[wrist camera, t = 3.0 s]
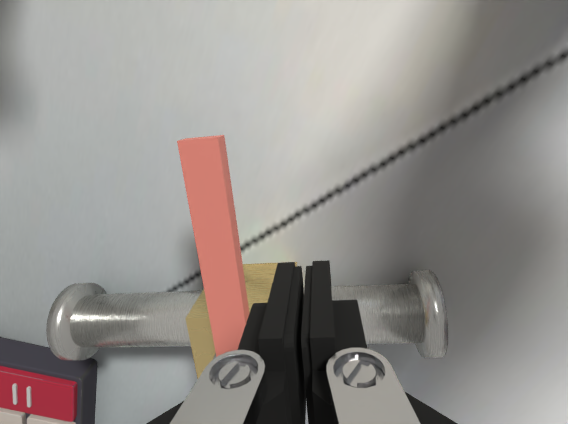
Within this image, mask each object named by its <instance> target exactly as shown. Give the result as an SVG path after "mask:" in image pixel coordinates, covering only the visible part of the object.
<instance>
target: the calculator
mask: <svg viewBox="0 0 568 424" xmlns="http://www.w3.org/2000/svg"><path fill="white" fill-rule="evenodd" d="M96 383H97V361H96V360H94V359H91V358H88V359H85V360H62V359H59V358H58V357H56V356H55V355H54V354H53V352H52V351H51V349H50V348H48V347H43V346H39V345H34V344H30V343H25V342H20V341H15V340H10V339H6V338H1V337H0V424H95V403H96Z"/></svg>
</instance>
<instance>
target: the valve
mask: <svg viewBox="0 0 568 424" xmlns="http://www.w3.org/2000/svg"><path fill="white" fill-rule="evenodd" d="M277 264H278V263H265V264H243V271H244V278H245V285H246V292H247V299H248V306H249V313H250V310H251V307H252V305H253V303H267V302H268V298H269V295H270V291H271V287H272V283H273V279H274V275H275V271H276V268H277ZM295 267H297V262H295ZM303 289H304V290H305V287H304V288H303ZM331 291H332V300H357V301H358V306H359V311H360V315H361V320H362V325H363V330H364V335H365V340H366V344H416V346H417V349H418V351H419V353H420V355H421V356H422V357H423V358H443V357H444V356H445V354H446V350H447V345H448V323H447V314H446V307H445V302H444V298H443V294H442V290H441V287H440V284H439V282H438V279H437V277H436V276H435V274H434V273H433V272H432V271H430V270H425V271H412V272H411V274H410V277H409V283H408V284H395V285H365V286H334V287H331ZM46 330H47V340H48V344H49V347H50V349H51V351H52V352H53V354H54V355H55V356H56V357H58V358H59V359H62V360H85V359H88V358H90V357H92V356H93V355H94V354H95V353H96V352H97V351H98V350H99V349H100V347H171V346H191V348H192V353H193V358H194V363H195V368H196V373H197V378H199V377H200V375H201V374H202V372H203V371H204V369H205V367H206V366H207V365H208V364H209V363H210V362H211V361H212V360H213V358H214V355H215V353H216V352H215V346H214V341H213V335H212V330H211V324H210V319H209V313H208V308H207V302H206V297H205V291H204V289H203V291H182V292H152V293H121V294H107V293H106V292H105V290H104V289H103V288H102V287H101V286H99V285H98V284H95V283H78V284H73V285H70V286H68V287H67V288H65V289H64V290H63V291H62V292H61V293H60V294H59V295H58V296H57V298H56V299H55V301H54V303H53V305H52V307H51V309H50V312H49V316H48V320H47V329H46Z"/></svg>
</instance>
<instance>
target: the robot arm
mask: <svg viewBox="0 0 568 424" xmlns="http://www.w3.org/2000/svg"><path fill="white" fill-rule="evenodd" d="M306 400H307V411H308V422H309V424H457V423H455V422H454V421H452V420H450V419H449V418H447V417H446V416H444V415H442V414H441V413H439V412H437V411H436V410H434V409H432V408H431V407H429V406H427V405H426V404H424V403H422V402H421V401H419V400H417V399H416V398H414V397H413V396H411V395H409V394H408V393H406V392H404V390H403V388H402V386H401V384H400V382H399V380H398V378H397V376H396V374H395V372H394V370H393V368H392V366H391V364H390V363H389V362H388V360H387V359H386V358H385V357H384V356H382V355H381V354H379V353H378V352H375V351H373V350H370V349H367V345H366V340H365V335H364V330H363V325H362V320H361V315H360V311H359V306H358V301H357V300H332V291H331V277H330V263H329V261H313V265H312V266H306V276H305V290H304V289H303V278H302V268H301V266H297V267H295V262H289V263H278V264H277V268H276V271H275V275H274V279H273V283H272V287H271V291H270V295H269V298H268V302H267V303H253V305H252V307H251V310H250V313H249V316H248V319H247V322H246V325H245V328H244V331H243V334H242V337H241V340H240V343H239V346H238V349H237V350H234V351H229V352H226V353H224V354H221V355H219V356H217V357H216V358H215V359H213V360H212V361H211V362H210V363H209V364H208V365H207V366H206V367H205V369H204V371H203V372H202V374H201V375H200V377H199V378H198V380H197V382H196V383H195V385H194V386H193V388H192V389H191V391H190V393H189V394H188V396H187V397H186V399H185V400H184V401H183V402H182V403H180V404H178V405H177V406H175V407H173V408H172V409H170V410H168V411H167V412H165V413H163V414H162V415H160V416H158V417H157V418H155V419H153V420H152V421H150V422H148V423H147V424H305V413H306Z"/></svg>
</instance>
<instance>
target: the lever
mask: <svg viewBox="0 0 568 424" xmlns="http://www.w3.org/2000/svg"><path fill="white" fill-rule="evenodd" d="M177 143H178V148H179V154H180V159H181V165H182V170H183V176H184V181H185V187H186V192H187V198H188V203H189V209H190V214H191V220H192V225H193V231H194V236H195V242H196V247H197V253H198V258H199V264H200V269H201V275H202V280H203V286H204V291H205V297H206V302H207V308H208V313H209V319H210V324H211V330H212V335H213V341H214V346H215V352H216V353H215V355H214V358H213V359H215V358H216V357H217V356H219V355H221V354H224V353H226V352H229V351H234V350H237V349H238V346H239V343H240V340H241V337H242V334H243V331H244V328H245V325H246V322H247V319H248V316H249V306H248V299H247V292H246V285H245V278H244V271H243V264H242V257H241V250H240V243H239V236H238V229H237V222H236V215H235V208H234V201H233V194H232V187H231V180H230V173H229V166H228V159H227V152H226V145H225V138H224V135H220V136H209V137H198V138H187V139H183V140H179V141H177Z"/></svg>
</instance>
